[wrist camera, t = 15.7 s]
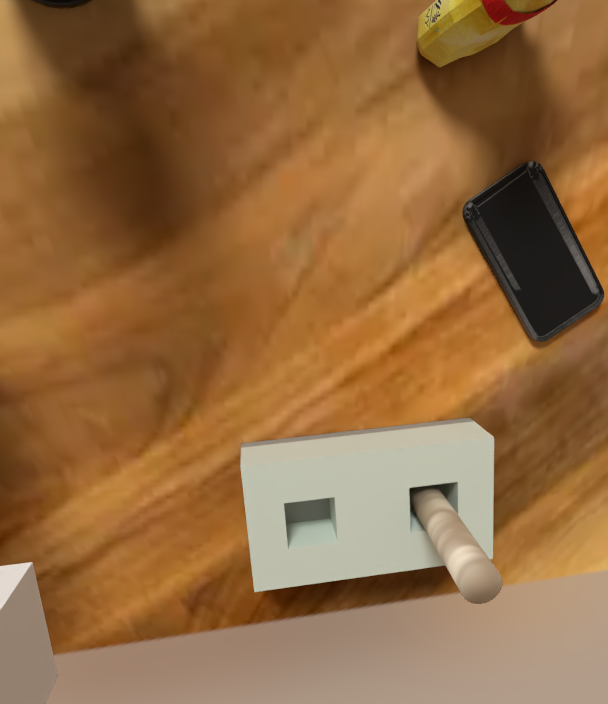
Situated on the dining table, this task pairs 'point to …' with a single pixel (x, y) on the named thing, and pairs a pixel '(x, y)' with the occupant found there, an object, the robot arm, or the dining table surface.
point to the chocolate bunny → (470, 25)
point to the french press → (62, 3)
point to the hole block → (360, 499)
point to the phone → (533, 251)
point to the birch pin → (456, 545)
